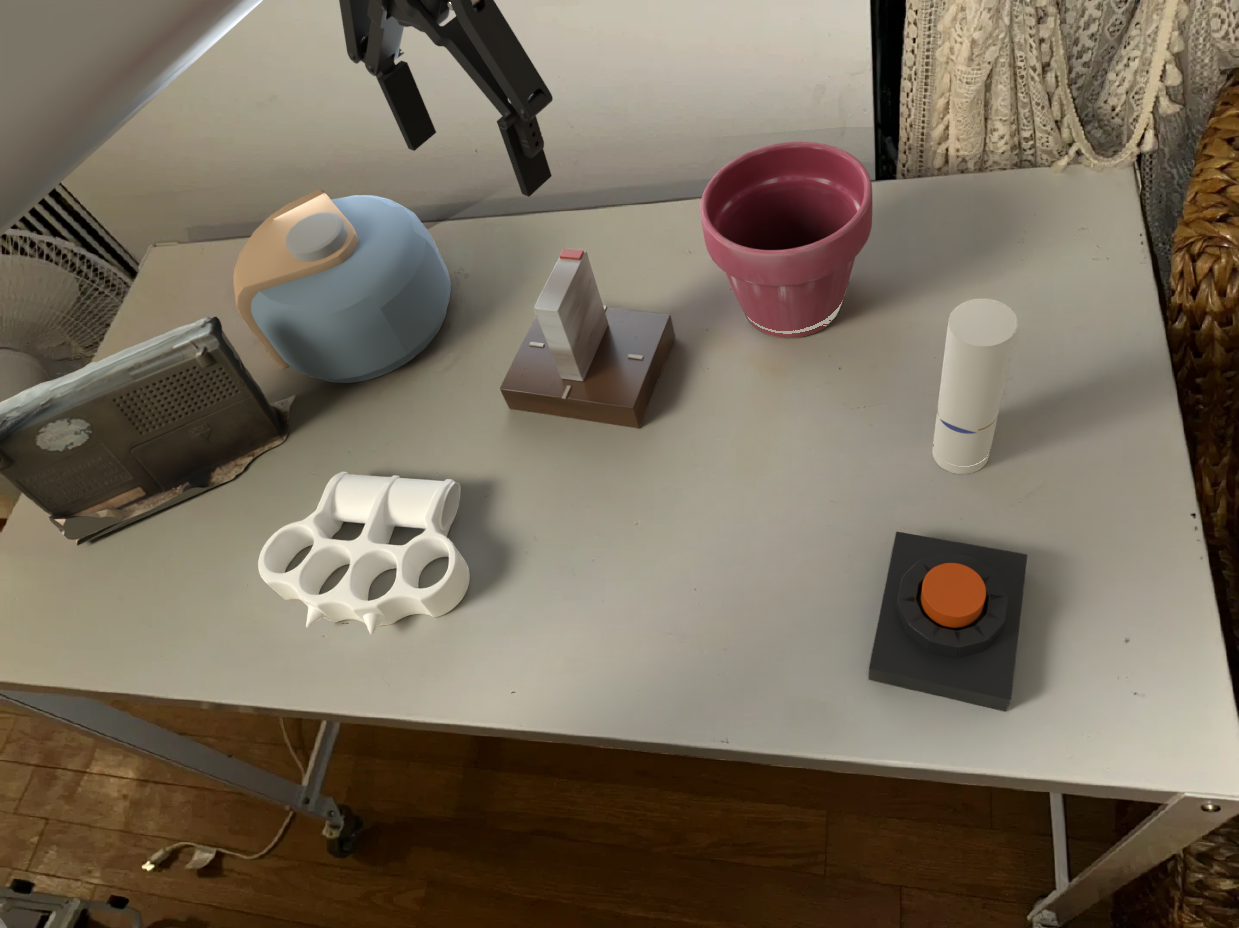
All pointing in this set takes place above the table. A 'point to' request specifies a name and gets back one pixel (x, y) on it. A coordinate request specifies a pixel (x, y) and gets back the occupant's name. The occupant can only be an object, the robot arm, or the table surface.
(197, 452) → the radio
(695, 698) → the table surface
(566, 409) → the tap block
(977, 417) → the tube
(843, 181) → the flower pot
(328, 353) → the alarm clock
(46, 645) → the table surface
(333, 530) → the white brass knuckles
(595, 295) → the red-tipped white block
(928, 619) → the button box
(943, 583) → the button
